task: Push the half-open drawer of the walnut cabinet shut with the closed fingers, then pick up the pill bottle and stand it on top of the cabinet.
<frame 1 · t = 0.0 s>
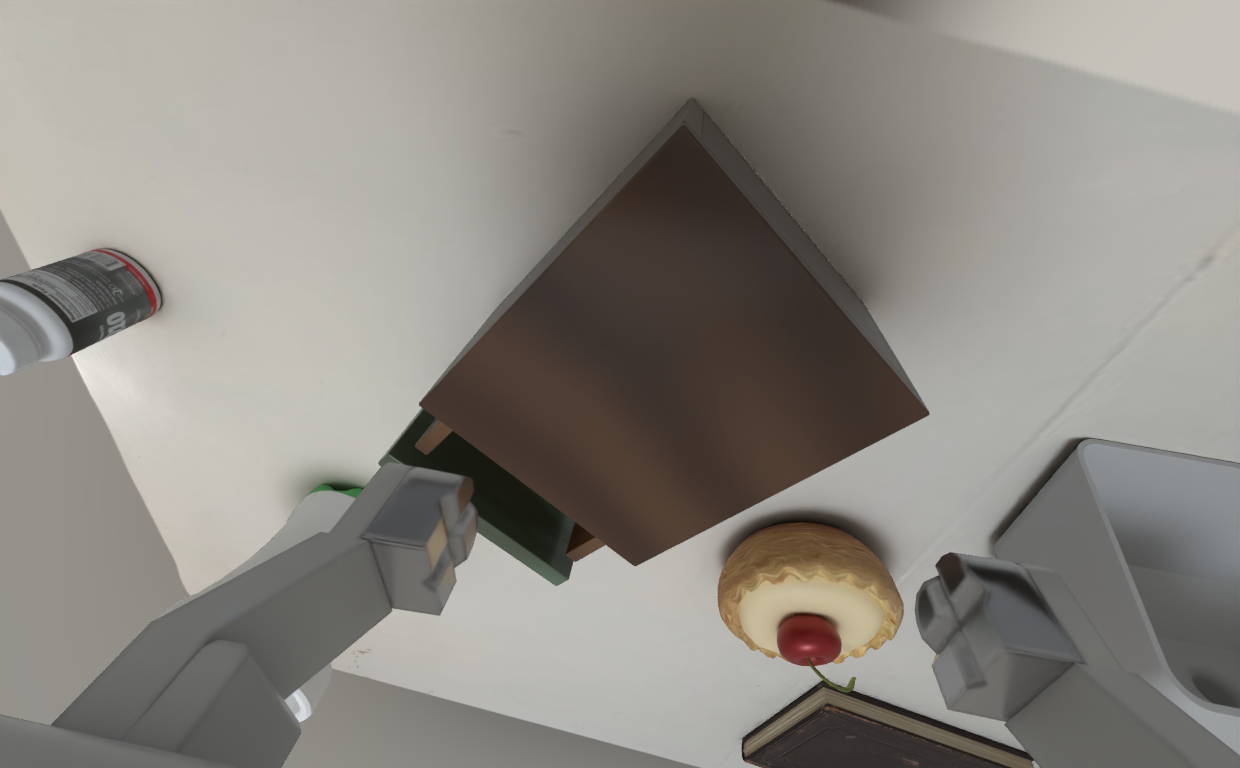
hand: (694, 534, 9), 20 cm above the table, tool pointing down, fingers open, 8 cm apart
hardcover book: (876, 744, 52), on the table
pastry: (797, 558, 38), on the table
drawer: (548, 439, 28), point 5 cm above the table, slide at 5.0 cm
pill bottle: (130, 281, 33), on the table
cup: (355, 510, 43), on the table
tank: (1189, 558, 33), on the table
cabinet: (668, 308, 28), on the table
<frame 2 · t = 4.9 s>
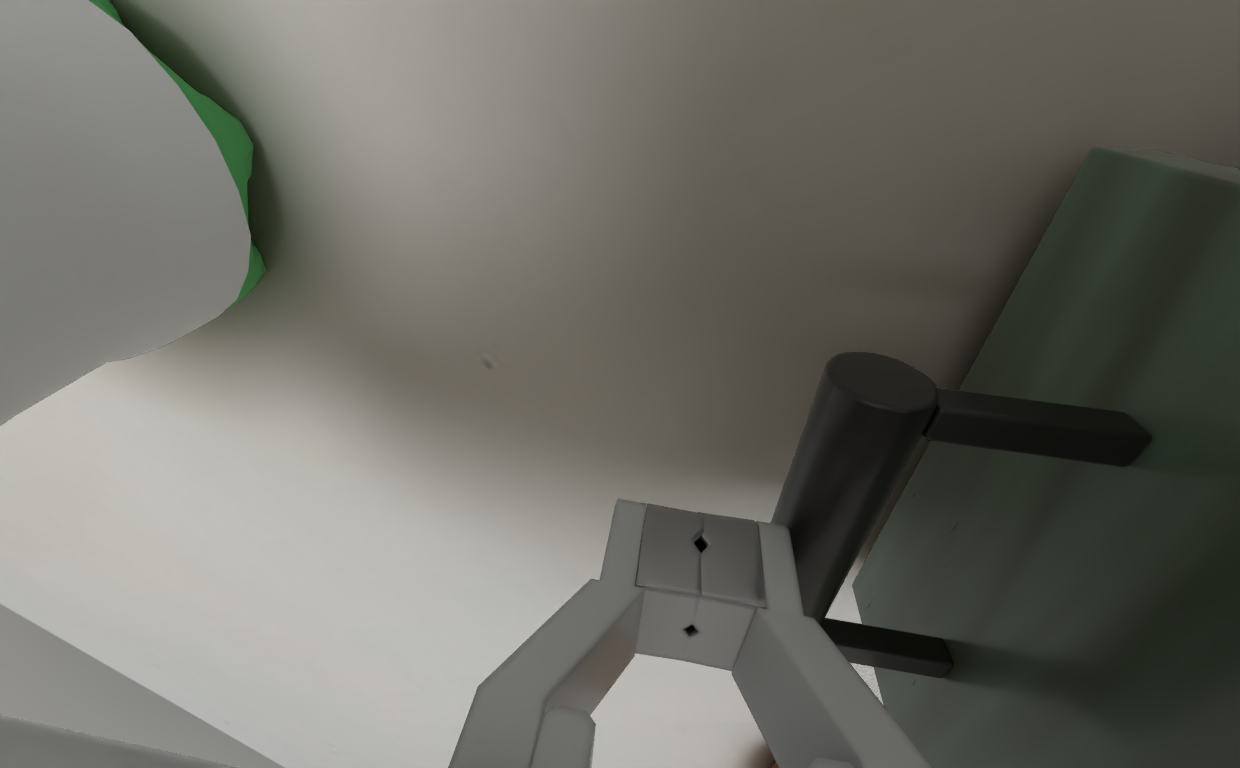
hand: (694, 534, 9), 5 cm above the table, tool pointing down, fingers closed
cup: (140, 160, 12), on the table
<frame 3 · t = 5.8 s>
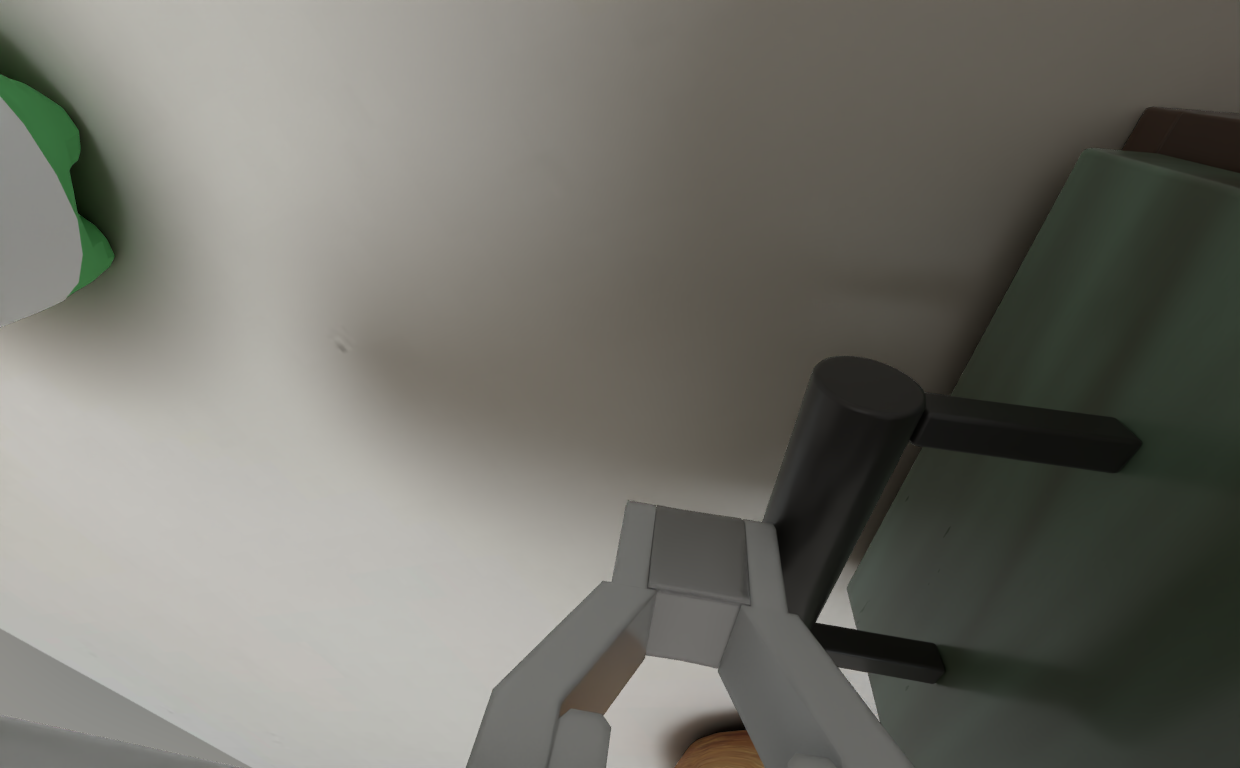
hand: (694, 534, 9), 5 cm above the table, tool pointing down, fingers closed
pastry: (781, 760, 25), on the table
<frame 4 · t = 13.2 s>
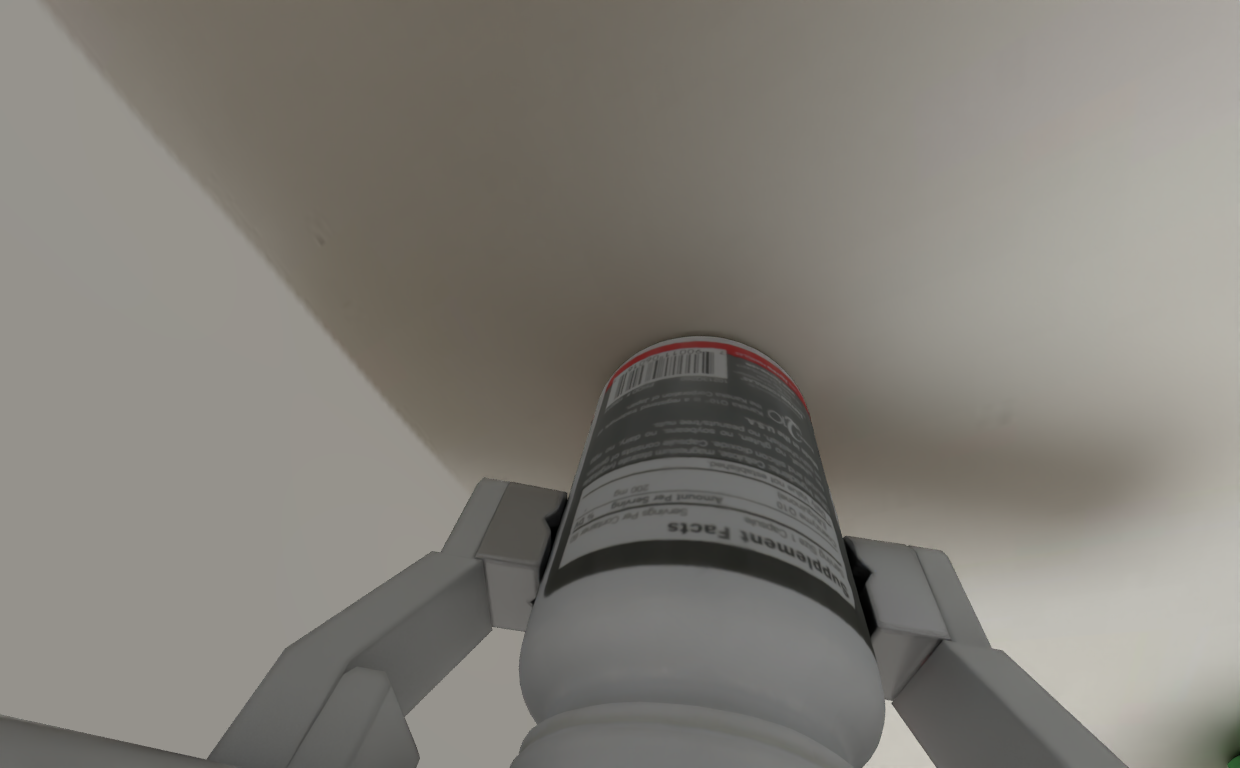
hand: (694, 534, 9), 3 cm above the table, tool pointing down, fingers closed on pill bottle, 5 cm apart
pill bottle: (699, 415, 12), on the table, touching gripper
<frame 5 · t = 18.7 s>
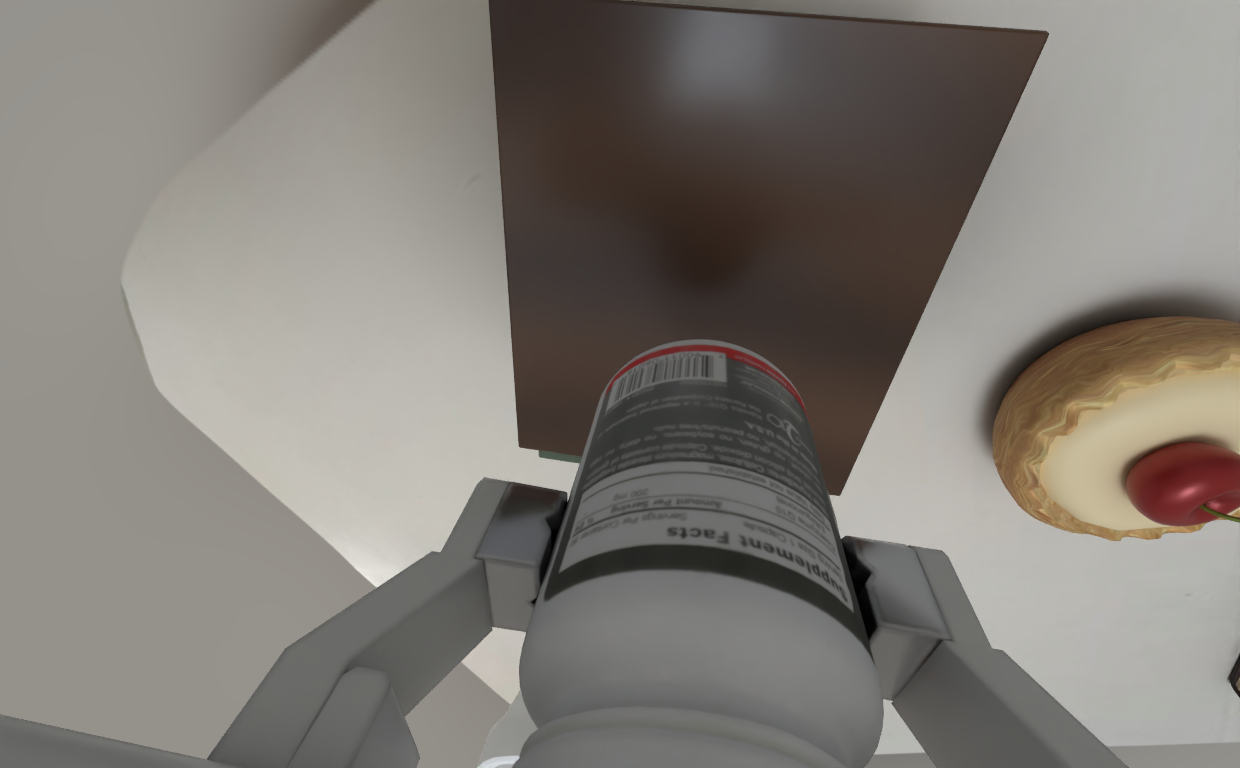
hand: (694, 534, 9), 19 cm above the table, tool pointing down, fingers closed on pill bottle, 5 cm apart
pastry: (1097, 395, 27), on the table
drawer: (691, 337, 23), point 5 cm above the table, slide at 0.1 cm
pill bottle: (699, 417, 12), point 16 cm above the table, touching gripper
cup: (599, 594, 44), on the table
cabinet: (706, 220, 24), on the table
when the fingers open (13 cm above the table, at t = 20.6 s): pill bottle stays where it is, resting on cabinet.
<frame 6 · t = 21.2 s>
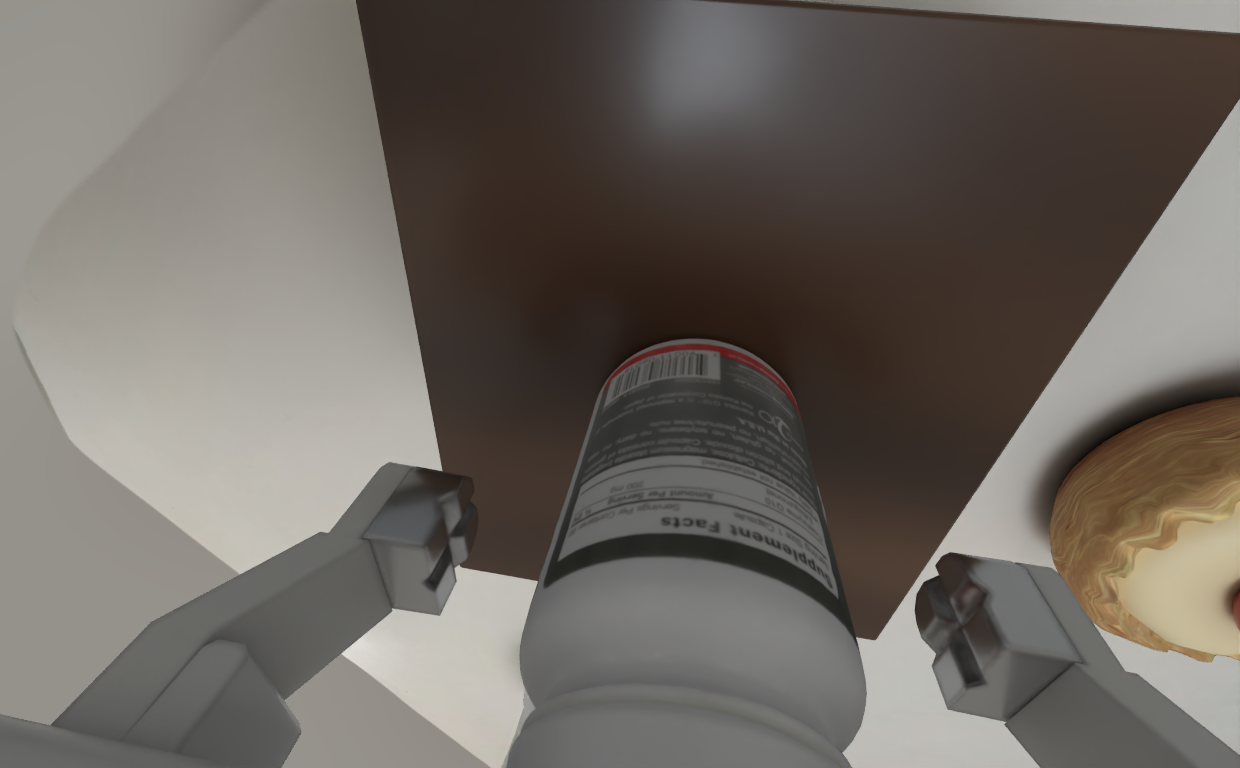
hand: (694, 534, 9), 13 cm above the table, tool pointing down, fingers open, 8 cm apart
pastry: (1178, 477, 22), on the table
pill bottle: (694, 415, 12), point 9 cm above the table, touching cabinet
cup: (582, 665, 39), on the table
cabinet: (702, 267, 20), on the table
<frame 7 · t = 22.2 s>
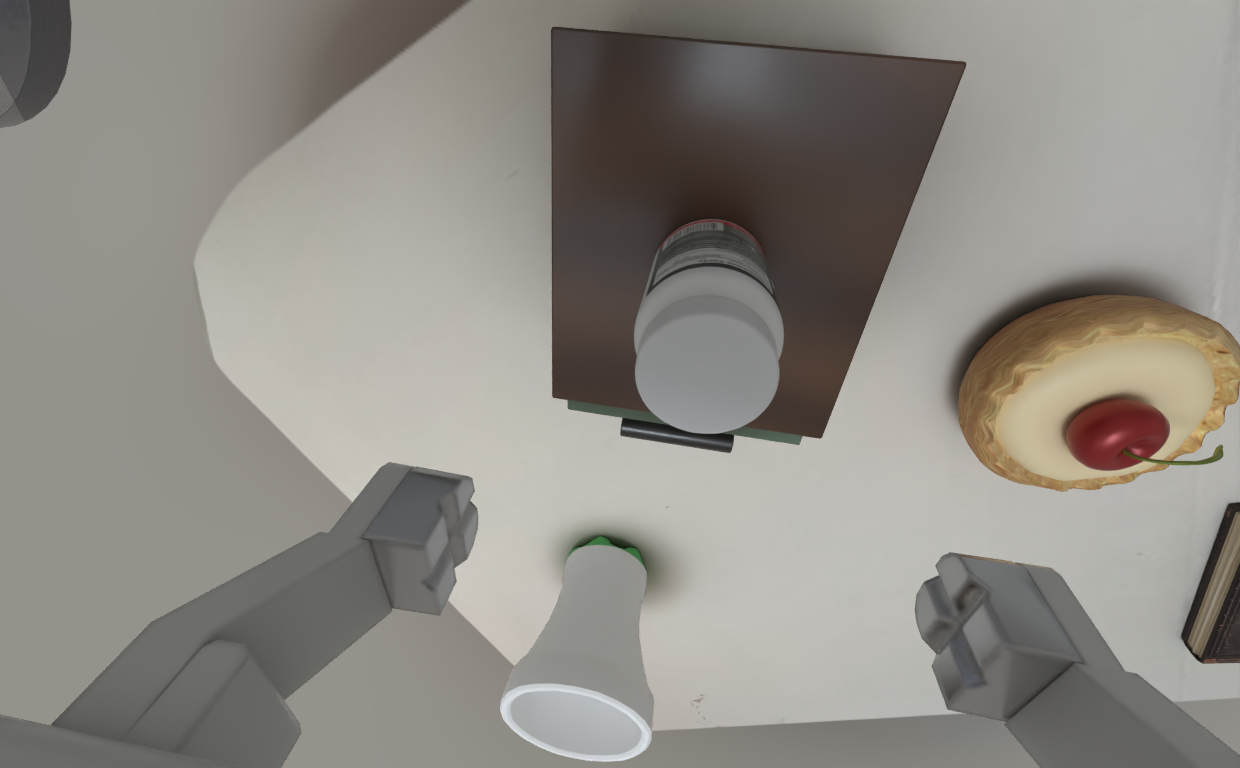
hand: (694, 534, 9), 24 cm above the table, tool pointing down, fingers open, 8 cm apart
pastry: (1049, 367, 31), on the table
drawer: (698, 308, 27), point 5 cm above the table, slide at 0.1 cm
pill bottle: (708, 272, 21), point 9 cm above the table, touching cabinet
cup: (608, 559, 48), on the table
cabinet: (711, 211, 29), on the table
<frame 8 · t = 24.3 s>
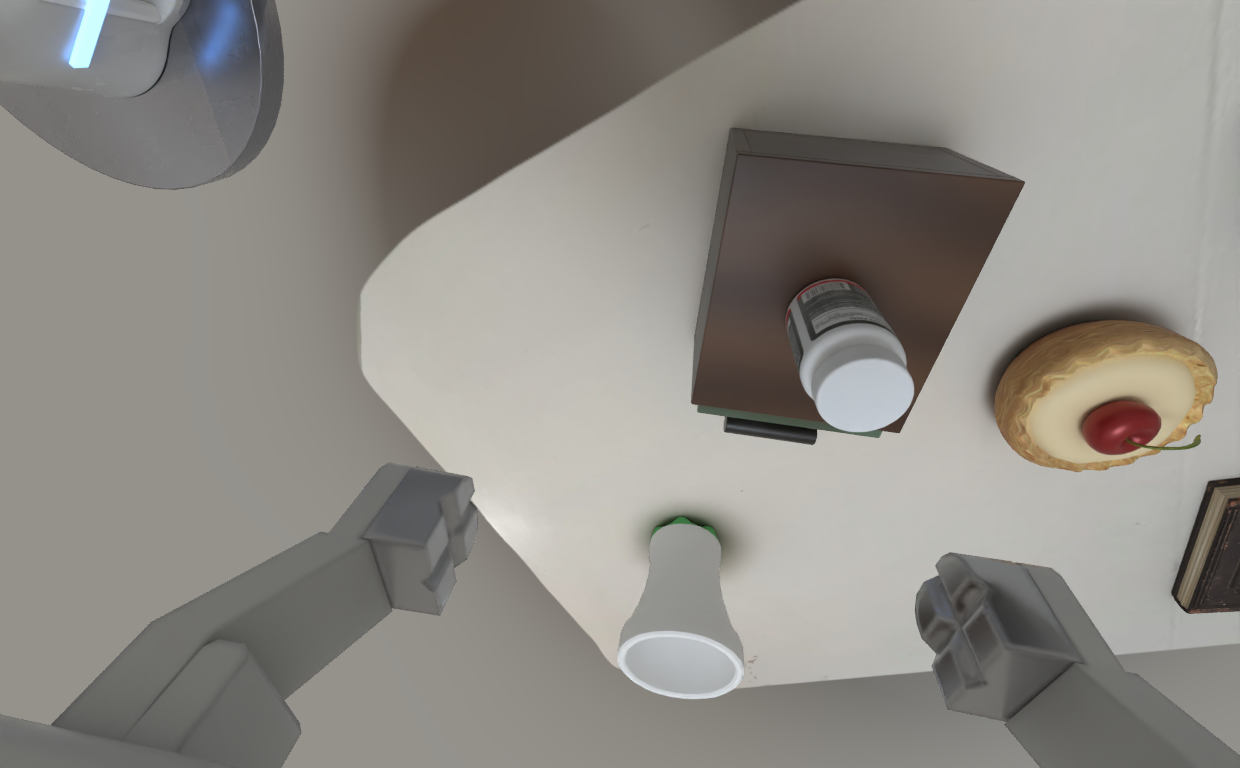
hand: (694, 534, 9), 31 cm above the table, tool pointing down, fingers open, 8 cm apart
pastry: (1066, 374, 39), on the table
drawer: (798, 333, 35), point 5 cm above the table, slide at 0.1 cm
pill bottle: (826, 313, 29), point 9 cm above the table, touching cabinet
cup: (685, 536, 56), on the table
cabinet: (803, 255, 36), on the table
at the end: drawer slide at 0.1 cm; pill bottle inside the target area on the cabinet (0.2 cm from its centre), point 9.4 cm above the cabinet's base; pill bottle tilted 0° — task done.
